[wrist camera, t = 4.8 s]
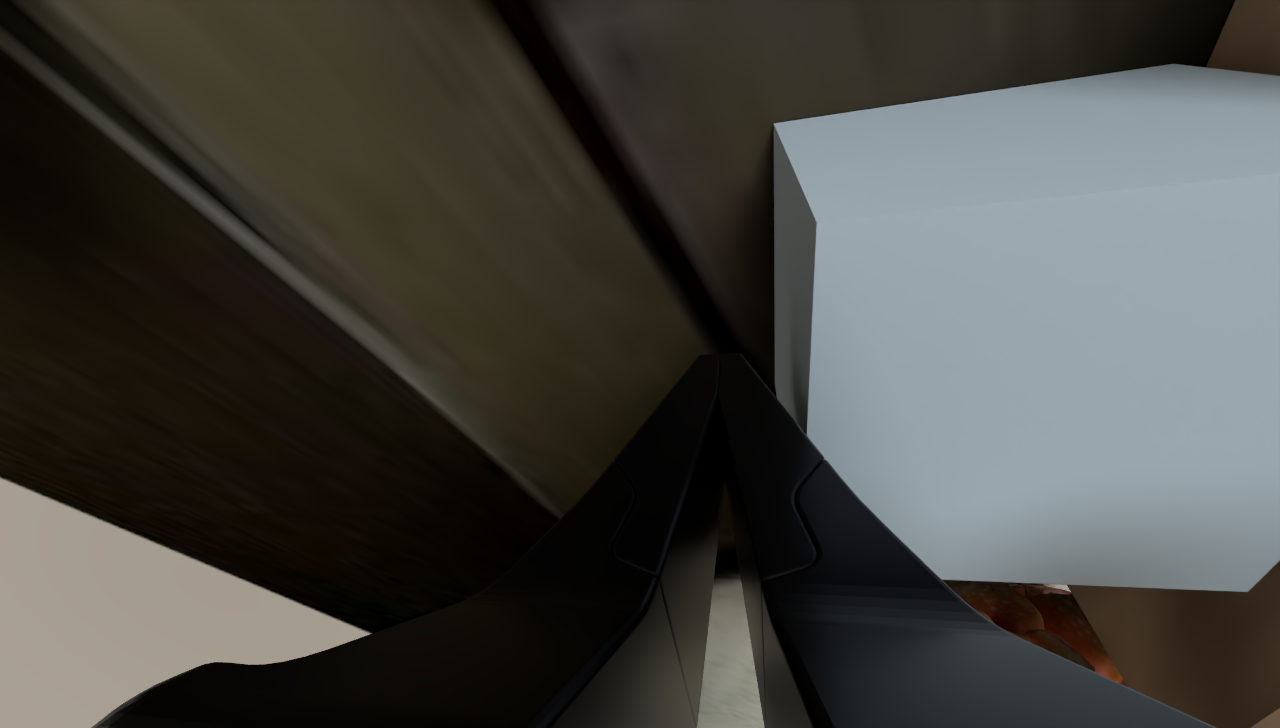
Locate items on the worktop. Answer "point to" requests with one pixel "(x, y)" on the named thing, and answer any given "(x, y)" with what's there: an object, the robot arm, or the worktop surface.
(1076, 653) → the dragon fruit
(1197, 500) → the slate block
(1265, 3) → the walnut board
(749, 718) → the worktop surface
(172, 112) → the worktop surface
